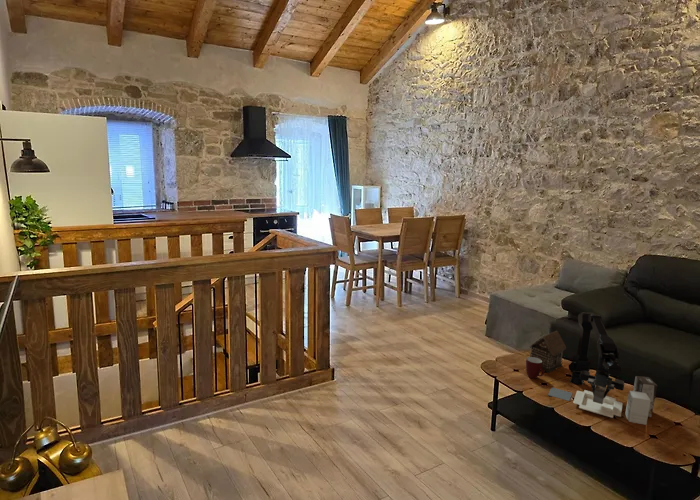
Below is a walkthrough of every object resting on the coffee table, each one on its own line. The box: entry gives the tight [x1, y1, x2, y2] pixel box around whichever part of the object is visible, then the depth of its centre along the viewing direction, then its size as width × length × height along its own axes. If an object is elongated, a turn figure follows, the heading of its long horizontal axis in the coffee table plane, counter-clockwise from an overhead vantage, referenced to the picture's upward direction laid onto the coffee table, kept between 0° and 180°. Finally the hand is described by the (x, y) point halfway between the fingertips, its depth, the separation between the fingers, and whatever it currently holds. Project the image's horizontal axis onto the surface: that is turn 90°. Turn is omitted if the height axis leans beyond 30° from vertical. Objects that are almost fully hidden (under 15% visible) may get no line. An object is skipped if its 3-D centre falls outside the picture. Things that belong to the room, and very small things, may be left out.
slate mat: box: [547, 386, 573, 402], centre depth 236 cm, size 10×10×1 cm
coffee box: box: [632, 375, 658, 418], centre depth 222 cm, size 9×6×16 cm
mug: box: [525, 356, 545, 380], centre depth 253 cm, size 10×8×10 cm
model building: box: [529, 330, 567, 374], centre depth 269 cm, size 18×14×20 cm
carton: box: [572, 389, 624, 419], centre depth 226 cm, size 21×20×2 cm
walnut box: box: [593, 385, 606, 404], centre depth 224 cm, size 8×4×6 cm, turn 147°
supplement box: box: [624, 390, 651, 426], centre depth 215 cm, size 7×7×13 cm
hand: (598, 396), depth 225 cm, fingers closed on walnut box, 4 cm apart
